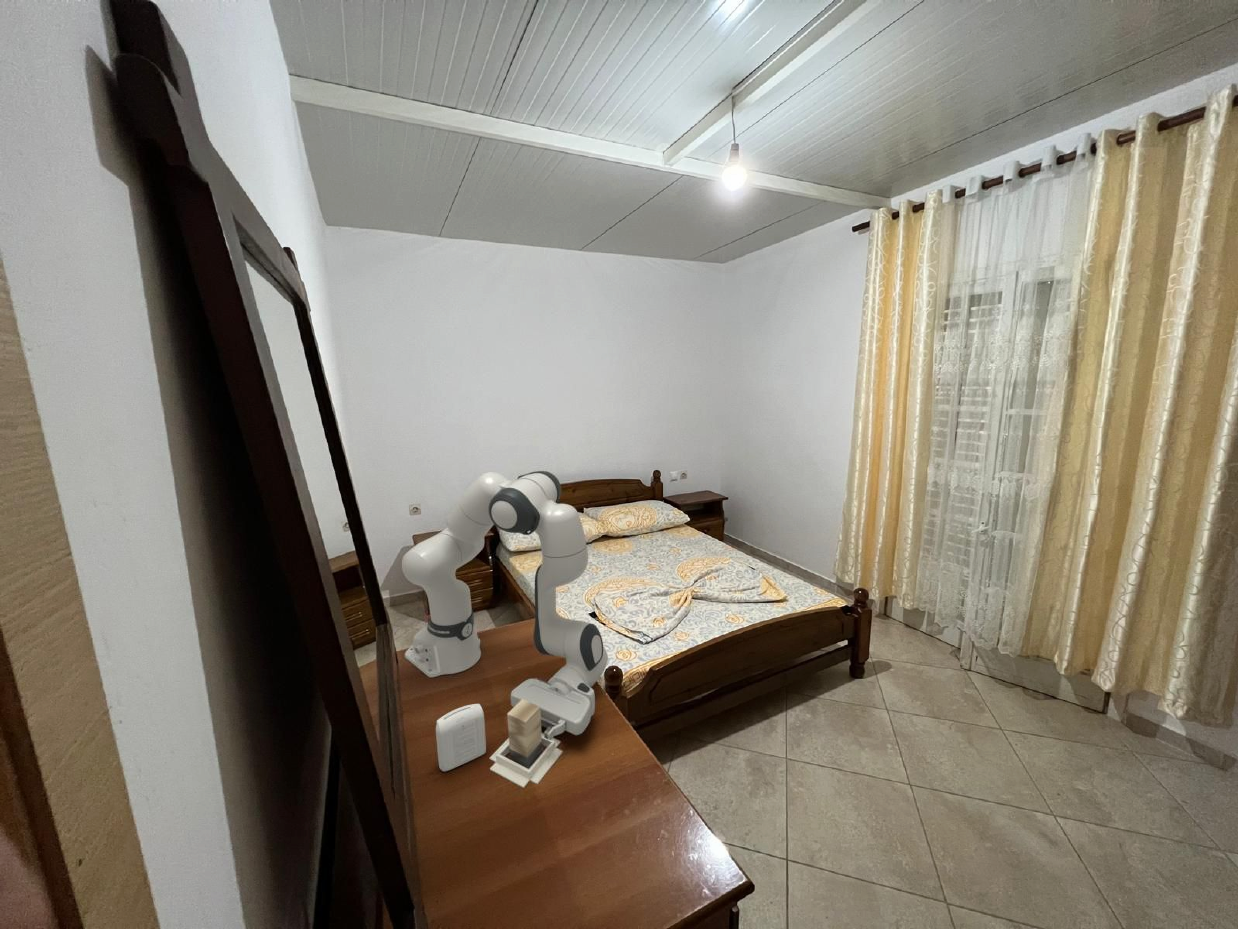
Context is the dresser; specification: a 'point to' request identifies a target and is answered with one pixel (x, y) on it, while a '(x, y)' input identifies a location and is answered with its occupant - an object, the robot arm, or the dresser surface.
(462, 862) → the dresser surface
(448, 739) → the photo printer
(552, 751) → the flanged square frame
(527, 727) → the block
